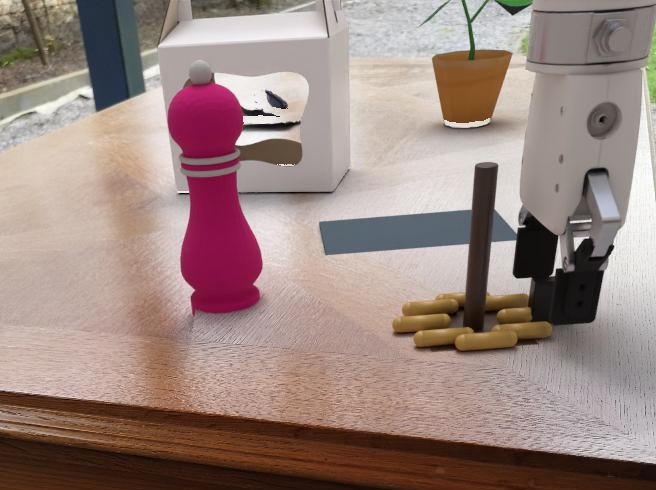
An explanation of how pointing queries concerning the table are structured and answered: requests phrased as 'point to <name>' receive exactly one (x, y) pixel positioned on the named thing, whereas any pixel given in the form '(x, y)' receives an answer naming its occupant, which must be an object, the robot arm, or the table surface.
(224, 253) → the pepper mill
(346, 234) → the mat
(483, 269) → the peg stand
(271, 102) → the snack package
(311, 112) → the gable box
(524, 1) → the potted plant
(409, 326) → the yellow rounded bars
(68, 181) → the table surface
